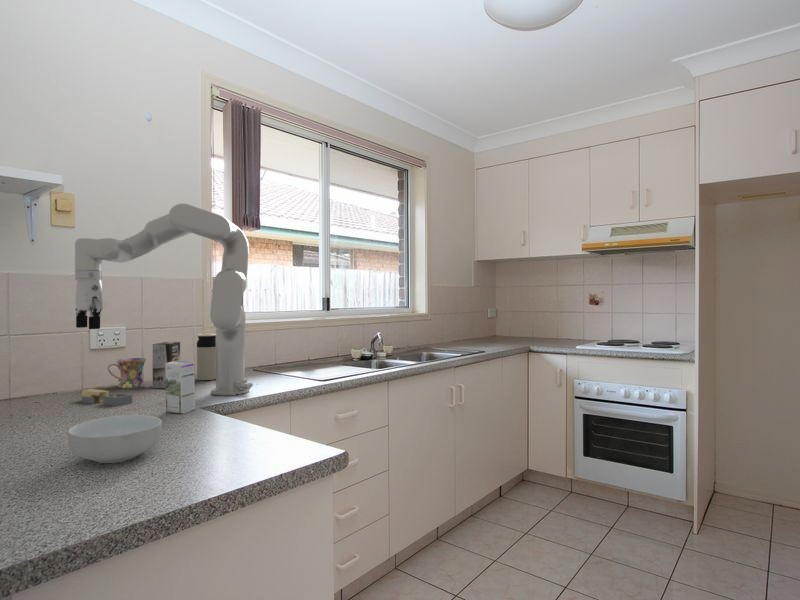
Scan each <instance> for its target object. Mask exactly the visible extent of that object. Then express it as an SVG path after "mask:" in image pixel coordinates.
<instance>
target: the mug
mask: <svg viewBox="0 0 800 600" xmlns="http://www.w3.org/2000/svg"><path fill="white" fill-rule="evenodd" d="M146 360H147V359H146V358H145V357H127V358H120V359H117V360H116V363H112V364H109V365H108V367H107V371H108V372H109V374H110V375H111V376H113V378H115V379H117V380H118V381H117V382H118V388H122V389H127V388H128V389H129V388H139V389H143V388H144V387H145V386H146V384H145V383H144V380H143V379H144V378H143V369H144V365H145V363H146ZM111 366H115V367H117V368H118V370H119V371H120V377H119V376H116V375H115V374H114V373H112V371H111V369H110V367H111Z"/></svg>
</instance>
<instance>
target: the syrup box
mask: <svg viewBox="0 0 800 600" xmlns="http://www.w3.org/2000/svg"><path fill="white" fill-rule="evenodd" d="M165 371H166V388H165V412H166V413H169V414H171V413H172V414H178V413H183V414H185V413H184V412H187V413H189V412H188V411H190V412H192V411H191V410H193V411H195V410H194V409H196V403H195V399H196V398H195V396H196V395H195V392H196V391H195V361H192V360H191V361H190V360H180V361H172V362H168V363H165Z"/></svg>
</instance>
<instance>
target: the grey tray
mask: <svg viewBox="0 0 800 600" xmlns="http://www.w3.org/2000/svg"><path fill="white" fill-rule="evenodd" d="M81 403H84V404H93V405H94V404H95V403H96V402H95V401H94V398H93V397H85V396H82V395H81ZM132 403H133V394H131V393H122V392H117V393H116V396H114V394H113V393H109V396H103V402H102V404H103V405H105V406H113V407H119V406H123V405H128V404H132Z"/></svg>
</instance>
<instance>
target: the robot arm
mask: <svg viewBox="0 0 800 600" xmlns="http://www.w3.org/2000/svg"><path fill="white" fill-rule="evenodd" d="M189 234H194V235H197V236H199V237H204V238H206V239H209V240H211V241H213V242H216V243H217V244H220V245H221V246H222V247H223V252H222V259H221V269H220V271H219V272H218V273H217V274H216V275H215V276H214V279H213V283H212V291H211V301H210V311H209V312H210V314H209V317H210V321H211V323H212V325H213V326H214V327H215V334H216V380H215V387H214V388H211V390H210V394H211V395H213V396H214V395H215V396H219V397H220V396H222V397H223V396H224V395H228V396H235V395H234V394H239V395H243V394H242V393H244V394H247V393H248V391H249V392H250V389H251V388H252V387H253V386H254V385H253V383H252V382H248V378H245V377H246V376H245V366H246V365H245V363H246V362H245V354H246V353H245V347H246V346H245V342H246V341H245V339H246V338H245V335H246V334H245V333H246V312H245V310H244V307H243V306H242V303H243V296H244V295H243V294H244V293H245V291H246V289H247V285H248V282H247V281H248V279H247V278H248V269H249V254H250V253H249V251H250V250H249V249H250V248H249V240H248V238H247V236H246V235H245V232H244V231H243V230H242V229H241V228H240V227H239V226H237V225H236V224H234V223H233V222H231V221H230V220H229V219H228V218H226V217H225V216H223V215H220V214H217V213H214V212H211V211H209V210H206V209H203V208H199V207H197V206H193V205H191V204H188V203H182V202H181V203H178V204H175V205H173V206H172V207H171V208H170V210H169V213H167V214H165V215H162V216H160V217H157V218H154V219H152V220H149V221H148V222H147V223H146V224H145V225H144V228H143V229H142V230H141V231H139V232H138V233H136V234H134V235H132V236H130V237H126V238H124V239H117V238H114V237H113V238H111V237H107V238H106V237H105V238H97V239H96V238H90V237H89V238H88V237H87V238H86V237H82V238H80V237H79V238H76V240H75V242H74V281H76V286H75V302H74V304H75V327H76V329H77V328H80V329H81V328H88V329H89V330H100V329H101V317H102V310H103V308H104V297H103V296H104V295H103V285H102V279H103V278H102V276H103V272H102V271H103V269H102V268H103V261H107V262H114V263H128V262H130V261H133V260H135V259H137V258H140V257H142V256H144V255H147V254H149V253H150V252H152V251H154V250H156V249H158V248H159V247H161V246H162V245H165V244H168V243H170V242H172V241H174V240H178V239H180V238H181V237H184V236H187V235H189ZM88 313H89V316H88V315H87V314H88ZM246 392H247V393H246Z"/></svg>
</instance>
